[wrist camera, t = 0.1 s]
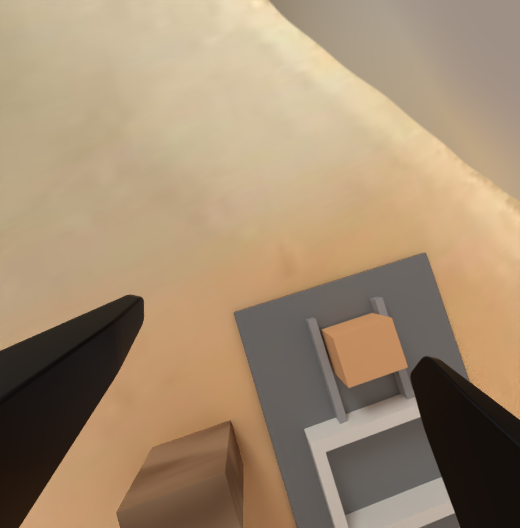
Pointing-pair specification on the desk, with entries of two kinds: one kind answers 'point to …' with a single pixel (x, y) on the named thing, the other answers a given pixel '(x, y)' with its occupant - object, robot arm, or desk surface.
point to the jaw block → (188, 484)
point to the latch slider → (364, 349)
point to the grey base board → (352, 401)
